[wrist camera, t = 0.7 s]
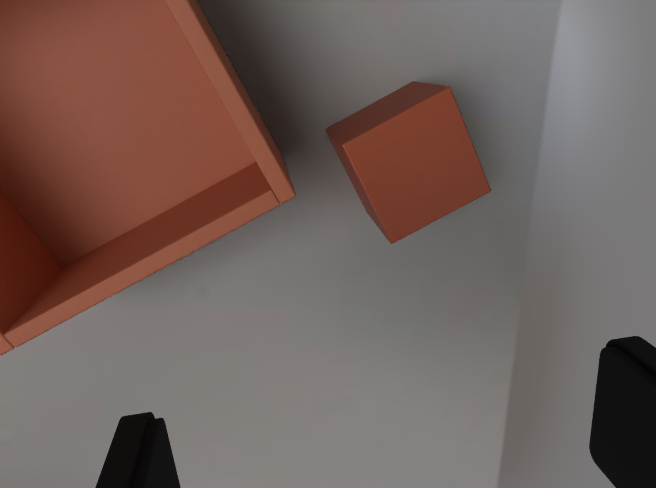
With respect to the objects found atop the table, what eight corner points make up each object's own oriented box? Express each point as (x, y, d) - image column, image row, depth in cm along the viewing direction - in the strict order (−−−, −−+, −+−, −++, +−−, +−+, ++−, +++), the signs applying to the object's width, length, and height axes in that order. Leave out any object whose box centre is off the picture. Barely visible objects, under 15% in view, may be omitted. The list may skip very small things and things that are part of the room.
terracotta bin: (135, -111, 19) (81, -192, 13) (284, 159, 23) (297, 196, 17) (-127, 38, 19) (-303, 29, 13) (64, 278, 23) (-2, 357, 17)
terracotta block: (413, 80, 23) (450, 85, 18) (450, 168, 24) (492, 191, 20) (324, 129, 23) (341, 144, 19) (367, 213, 24) (391, 244, 20)
